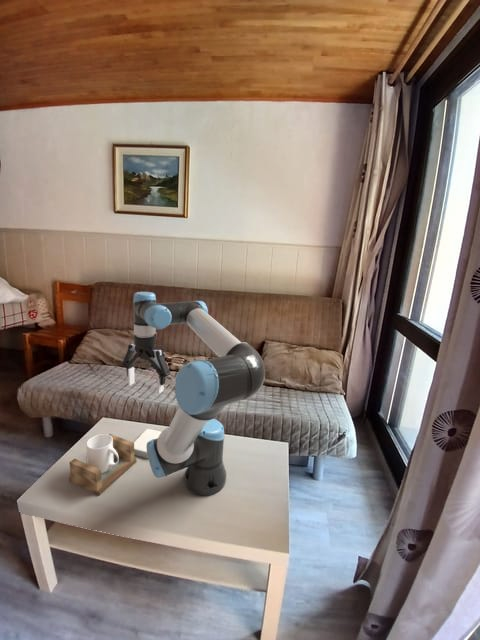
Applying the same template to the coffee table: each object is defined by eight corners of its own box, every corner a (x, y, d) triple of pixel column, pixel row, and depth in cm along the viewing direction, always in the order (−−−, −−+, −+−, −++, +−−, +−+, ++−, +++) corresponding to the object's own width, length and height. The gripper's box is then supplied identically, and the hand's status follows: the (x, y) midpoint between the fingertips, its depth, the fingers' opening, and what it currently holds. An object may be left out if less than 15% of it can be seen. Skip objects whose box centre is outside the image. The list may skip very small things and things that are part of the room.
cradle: (136, 461, 118) (136, 443, 116) (99, 495, 102) (98, 474, 100) (108, 450, 123) (107, 433, 121) (69, 481, 107) (67, 461, 105)
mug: (110, 480, 107) (109, 453, 104) (82, 471, 110) (80, 445, 107) (126, 464, 115) (125, 439, 112) (99, 456, 118) (98, 431, 115)
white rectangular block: (167, 438, 134) (167, 432, 133) (151, 459, 120) (151, 453, 120) (147, 433, 136) (147, 428, 135) (128, 453, 123) (128, 447, 122)
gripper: (180, 337, 111) (179, 391, 116) (125, 326, 119) (126, 377, 125) (167, 343, 104) (167, 400, 109) (110, 331, 113) (112, 384, 118)
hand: (145, 387), depth 117 cm, fingers open, 13 cm apart
